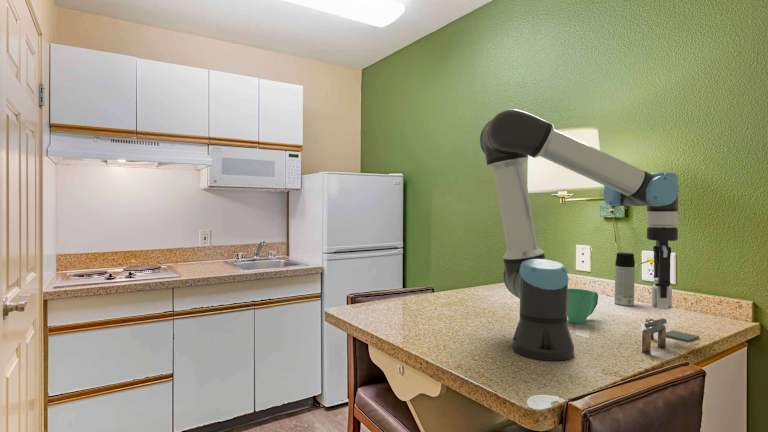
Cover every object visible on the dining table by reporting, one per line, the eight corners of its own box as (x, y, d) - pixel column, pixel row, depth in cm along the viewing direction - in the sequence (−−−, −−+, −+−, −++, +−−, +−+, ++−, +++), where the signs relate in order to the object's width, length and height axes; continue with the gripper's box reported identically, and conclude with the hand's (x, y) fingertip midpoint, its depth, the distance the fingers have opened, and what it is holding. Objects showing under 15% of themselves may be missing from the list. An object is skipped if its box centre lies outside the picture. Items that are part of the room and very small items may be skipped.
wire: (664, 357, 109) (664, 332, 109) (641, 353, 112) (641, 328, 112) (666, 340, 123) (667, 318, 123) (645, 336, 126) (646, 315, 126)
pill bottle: (675, 309, 123) (675, 280, 122) (658, 309, 123) (658, 280, 122) (664, 305, 127) (664, 277, 127) (648, 306, 127) (648, 277, 127)
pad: (687, 342, 121) (687, 340, 121) (661, 335, 127) (661, 333, 127) (699, 338, 125) (699, 336, 125) (672, 332, 131) (672, 330, 131)
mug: (580, 327, 136) (581, 295, 136) (554, 320, 144) (554, 290, 144) (608, 321, 143) (609, 291, 143) (582, 314, 152) (582, 286, 152)
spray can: (634, 303, 170) (635, 253, 169) (633, 307, 164) (634, 254, 164) (615, 301, 173) (616, 251, 173) (613, 304, 168) (614, 253, 167)
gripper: (683, 228, 115) (682, 315, 115) (672, 225, 131) (671, 301, 131) (650, 227, 118) (649, 312, 119) (643, 225, 134) (643, 299, 135)
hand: (661, 306), depth 125 cm, fingers closed on pill bottle, 5 cm apart
